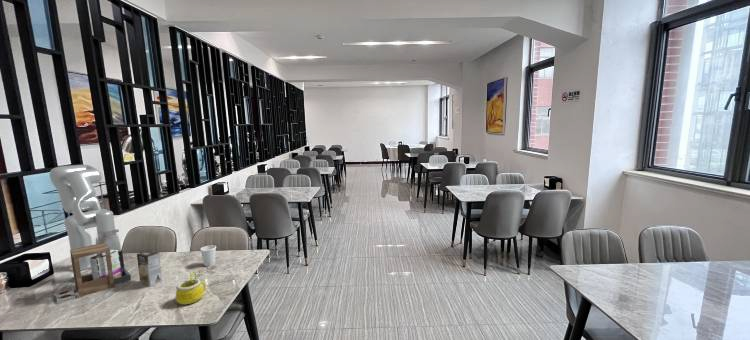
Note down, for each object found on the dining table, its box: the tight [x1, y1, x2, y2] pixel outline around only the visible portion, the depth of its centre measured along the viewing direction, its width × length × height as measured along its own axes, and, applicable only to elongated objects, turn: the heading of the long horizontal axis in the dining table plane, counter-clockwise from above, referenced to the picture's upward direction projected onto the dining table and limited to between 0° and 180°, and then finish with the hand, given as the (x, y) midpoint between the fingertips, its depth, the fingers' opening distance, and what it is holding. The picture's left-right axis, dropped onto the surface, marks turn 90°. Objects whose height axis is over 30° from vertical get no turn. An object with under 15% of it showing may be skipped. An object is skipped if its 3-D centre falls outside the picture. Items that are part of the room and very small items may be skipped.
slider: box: [88, 250, 132, 286], centre depth 170 cm, size 19×16×12 cm
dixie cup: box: [199, 245, 217, 267], centre depth 188 cm, size 8×8×10 cm
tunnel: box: [69, 243, 115, 298], centre depth 161 cm, size 13×13×21 cm
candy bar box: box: [90, 250, 122, 280], centre depth 165 cm, size 11×5×16 cm, turn 168°
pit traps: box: [54, 288, 76, 305], centre depth 154 cm, size 12×6×1 cm, turn 49°
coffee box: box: [136, 249, 163, 287], centre depth 166 cm, size 9×6×16 cm
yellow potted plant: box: [175, 269, 207, 305], centre depth 148 cm, size 13×11×12 cm
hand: (111, 266), depth 177 cm, fingers closed
